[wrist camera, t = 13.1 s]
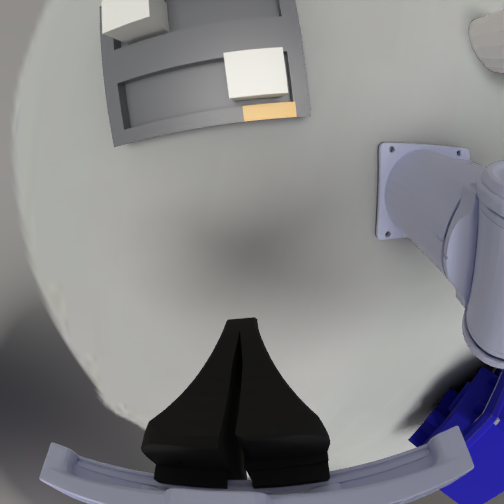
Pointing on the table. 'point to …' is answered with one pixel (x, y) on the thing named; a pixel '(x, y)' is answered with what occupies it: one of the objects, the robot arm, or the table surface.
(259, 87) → the white block
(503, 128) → the table surface
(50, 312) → the table surface
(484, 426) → the blue valve with handwheel
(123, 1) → the white rectangular block
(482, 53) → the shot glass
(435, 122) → the table surface
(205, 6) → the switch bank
